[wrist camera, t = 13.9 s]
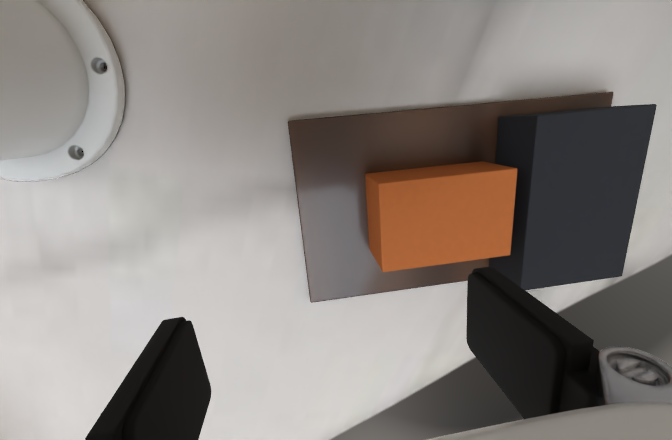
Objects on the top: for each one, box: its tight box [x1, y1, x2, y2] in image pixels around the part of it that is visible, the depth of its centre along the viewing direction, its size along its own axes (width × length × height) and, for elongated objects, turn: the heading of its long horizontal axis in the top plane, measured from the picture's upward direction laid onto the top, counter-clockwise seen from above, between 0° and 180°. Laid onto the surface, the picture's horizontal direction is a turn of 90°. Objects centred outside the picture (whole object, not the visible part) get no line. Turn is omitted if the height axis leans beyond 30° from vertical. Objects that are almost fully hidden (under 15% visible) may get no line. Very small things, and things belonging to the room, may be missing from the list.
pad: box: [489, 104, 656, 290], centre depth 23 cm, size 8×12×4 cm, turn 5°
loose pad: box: [365, 161, 517, 272], centre depth 22 cm, size 9×6×4 cm, turn 95°
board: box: [288, 92, 613, 302], centre depth 25 cm, size 24×14×1 cm, turn 95°
